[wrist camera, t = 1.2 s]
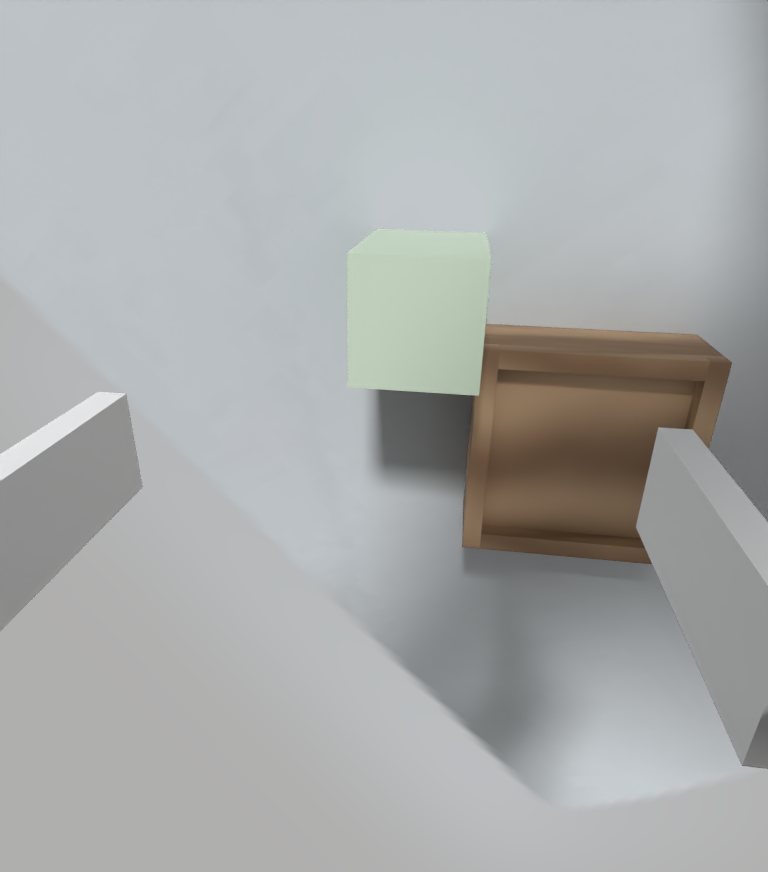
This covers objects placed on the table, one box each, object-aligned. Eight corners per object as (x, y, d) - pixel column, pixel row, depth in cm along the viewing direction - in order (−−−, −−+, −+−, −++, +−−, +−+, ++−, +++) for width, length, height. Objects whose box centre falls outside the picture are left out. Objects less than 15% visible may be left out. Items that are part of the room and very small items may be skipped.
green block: (376, 229, 33) (347, 252, 25) (486, 232, 33) (491, 258, 25) (375, 334, 36) (347, 387, 28) (477, 340, 35) (478, 395, 27)
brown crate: (478, 323, 35) (479, 349, 30) (697, 334, 34) (732, 362, 29) (463, 502, 40) (462, 546, 35) (652, 518, 39) (676, 566, 34)
